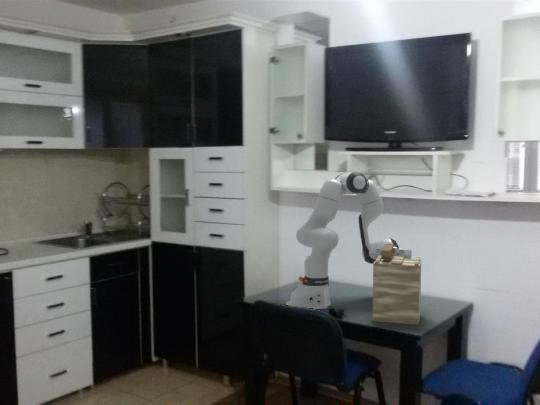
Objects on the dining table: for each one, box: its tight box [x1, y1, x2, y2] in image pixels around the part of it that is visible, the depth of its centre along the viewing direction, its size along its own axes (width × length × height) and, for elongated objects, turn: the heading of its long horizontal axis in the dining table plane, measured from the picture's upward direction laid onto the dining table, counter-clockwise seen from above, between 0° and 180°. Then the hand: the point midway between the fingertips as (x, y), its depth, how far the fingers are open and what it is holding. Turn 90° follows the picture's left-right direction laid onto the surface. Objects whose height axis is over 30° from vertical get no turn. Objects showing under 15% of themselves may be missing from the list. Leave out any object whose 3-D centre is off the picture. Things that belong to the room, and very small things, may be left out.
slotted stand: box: [371, 255, 422, 326], centre depth 255 cm, size 16×20×27 cm
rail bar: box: [381, 243, 394, 259], centre depth 260 cm, size 20×4×4 cm, turn 163°
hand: (389, 248), depth 266 cm, fingers closed on rail bar, 4 cm apart
